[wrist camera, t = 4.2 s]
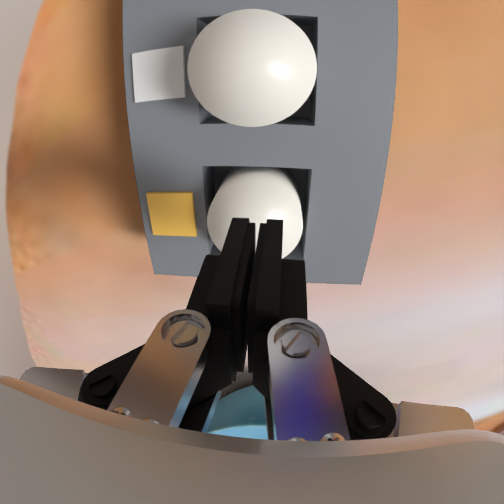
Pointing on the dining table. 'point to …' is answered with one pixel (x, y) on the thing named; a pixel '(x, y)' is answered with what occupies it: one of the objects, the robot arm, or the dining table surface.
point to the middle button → (252, 67)
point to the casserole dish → (240, 415)
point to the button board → (263, 131)
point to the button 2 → (257, 203)
